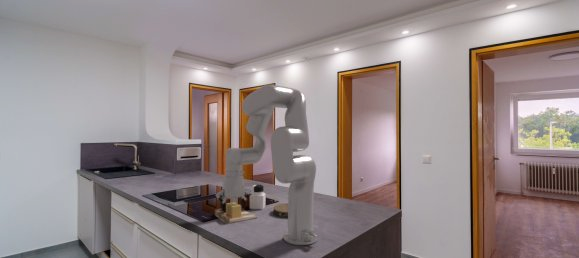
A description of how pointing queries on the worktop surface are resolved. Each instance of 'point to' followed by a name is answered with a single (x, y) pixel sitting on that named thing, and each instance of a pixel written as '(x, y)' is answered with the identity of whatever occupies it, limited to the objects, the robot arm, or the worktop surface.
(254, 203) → the medicine bottle
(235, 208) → the mustard block
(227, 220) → the tray
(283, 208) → the tan flat round disc
